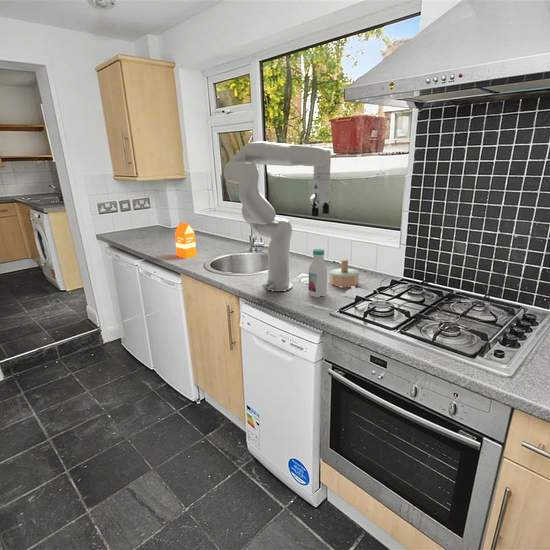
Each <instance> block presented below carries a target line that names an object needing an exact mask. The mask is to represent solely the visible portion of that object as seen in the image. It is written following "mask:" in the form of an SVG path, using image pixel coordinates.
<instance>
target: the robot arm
mask: <svg viewBox="0 0 550 550" xmlns="http://www.w3.org/2000/svg"><path fill="white" fill-rule="evenodd" d="M331 156H332V152H331V149H329V148H323V147H321V146H320V147H318V146H308V145H299V144H290V143H279V142H278V143H277V142H272V141H271V142H270V141H254V142H253V141H252V142H248V143H247V144H245V145H244V146H243V147H242V148H241V149H239V150H238V152H236V153H235V154H234V155H233V157H231V158H230V160H229V161H228V162H227V163H226V165H225V166H224V169H223V176H224V178H225V180H226V181H227V182H229V183H230V184H236V185H238V199H239V201H240V203H241V205H242V207H241V215H242V218H243V219H244V221H245V222H246V223H247V224H248V225H249V226H250V227H251V228H252V229H253V230H254V231H255V232H256V233H257V234H258V235H260V236H262V237H264V238H267V239H270V242H269V244H268V247H267V275H268V276H267V280H266V283H264V284H262V286H261V287H262V289H265V290H267V289H269V290H273V291H284V290H288V289H291V288H292V287H294V286H293V283H291V281H290V250H291V248H290V247H291V246H290V243H291V238H292V233H293V226H292V224H291V222H290V221H289V220H287V219H286V218H282V217H278V216H276V215H277V213H276V210H275V208H274V207H273V205H272V204H271V203H270V201H268V200H267V199H266V198H265V197H264V195H263V194H262V193H261V192H260V190H259V179H260V171H259V168H258V166H257V165H265V166H266V165H267V166H281V167H282V166H284V167H296V166H297V167H298V166H304V167H313V179H312V180H313V183H312V191H311V197H310V198H309V200H310V201H309V202H310V205H311V206H310V207H311V216H312V217H319V206H320V204H322V214H325V215H329V214H330V205H331V201H332V200H331V199H332V188H331V187H332V186H331V185H332V184H331V161H332V160H331V159H332V157H331ZM266 288H267V289H266ZM292 289H293V288H292ZM292 289H291V290H292ZM269 290H268V291H269ZM273 291H272V292H273Z"/></svg>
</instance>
